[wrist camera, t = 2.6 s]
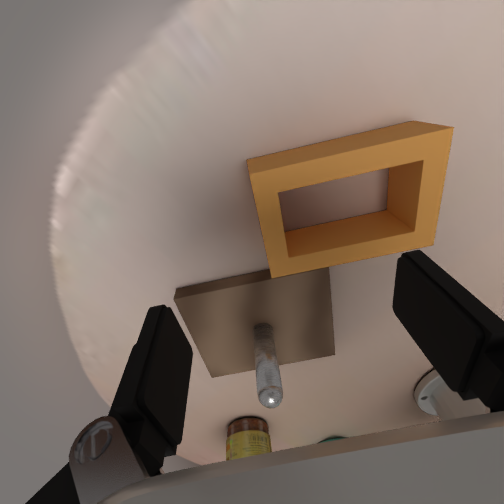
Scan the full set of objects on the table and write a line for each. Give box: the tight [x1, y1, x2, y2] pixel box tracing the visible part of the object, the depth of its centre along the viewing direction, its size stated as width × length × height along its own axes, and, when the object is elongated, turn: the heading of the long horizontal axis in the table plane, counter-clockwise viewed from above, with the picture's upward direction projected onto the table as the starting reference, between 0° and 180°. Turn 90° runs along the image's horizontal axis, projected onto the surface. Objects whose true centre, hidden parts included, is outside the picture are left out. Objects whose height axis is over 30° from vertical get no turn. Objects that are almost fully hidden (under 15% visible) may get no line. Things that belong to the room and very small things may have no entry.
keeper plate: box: [174, 267, 335, 408], centre depth 24 cm, size 14×12×9 cm
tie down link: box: [247, 121, 454, 278], centre depth 19 cm, size 12×8×4 cm, turn 102°
